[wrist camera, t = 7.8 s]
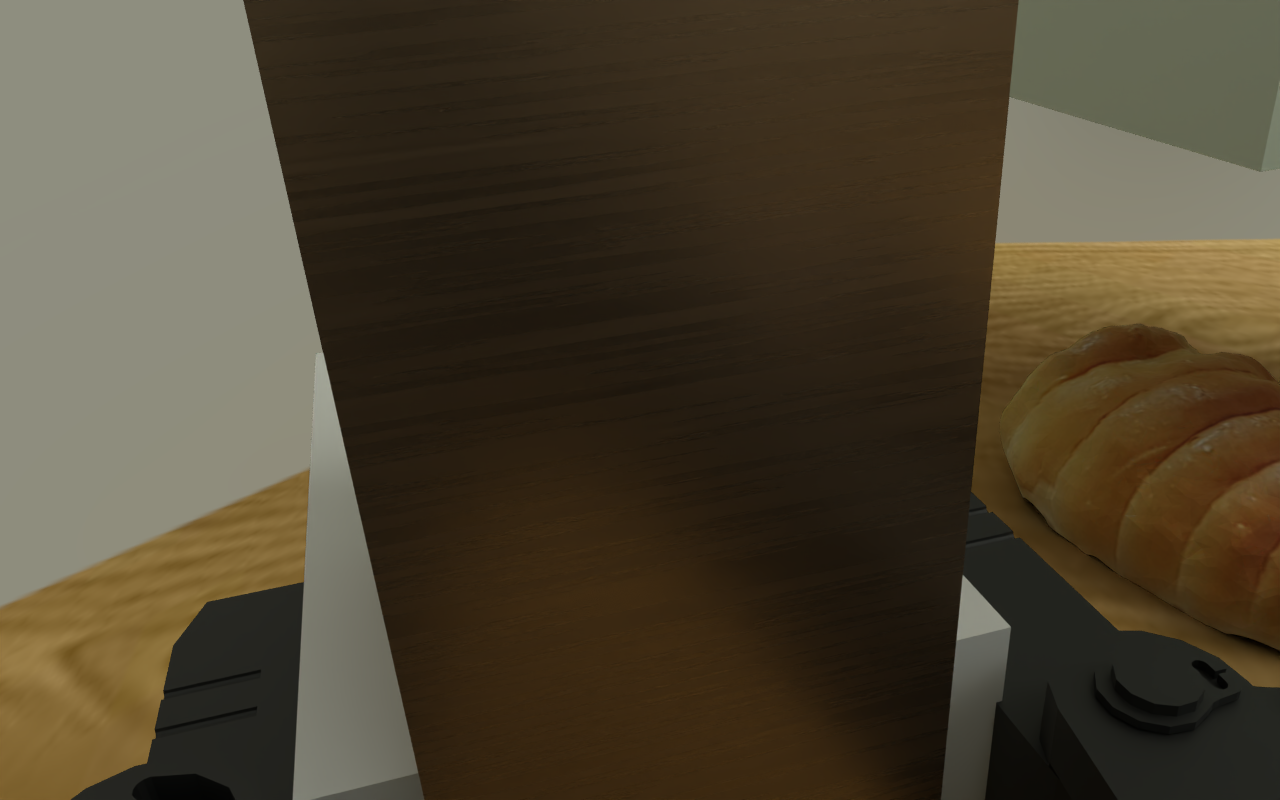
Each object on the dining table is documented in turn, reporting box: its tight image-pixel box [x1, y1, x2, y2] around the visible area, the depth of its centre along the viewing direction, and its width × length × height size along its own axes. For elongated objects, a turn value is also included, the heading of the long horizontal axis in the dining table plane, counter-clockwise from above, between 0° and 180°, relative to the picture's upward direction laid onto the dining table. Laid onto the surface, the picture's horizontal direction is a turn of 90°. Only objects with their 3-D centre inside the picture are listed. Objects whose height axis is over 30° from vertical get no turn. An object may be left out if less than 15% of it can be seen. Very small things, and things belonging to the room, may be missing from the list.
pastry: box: [1000, 324, 1280, 651], centre depth 23 cm, size 9×7×4 cm
